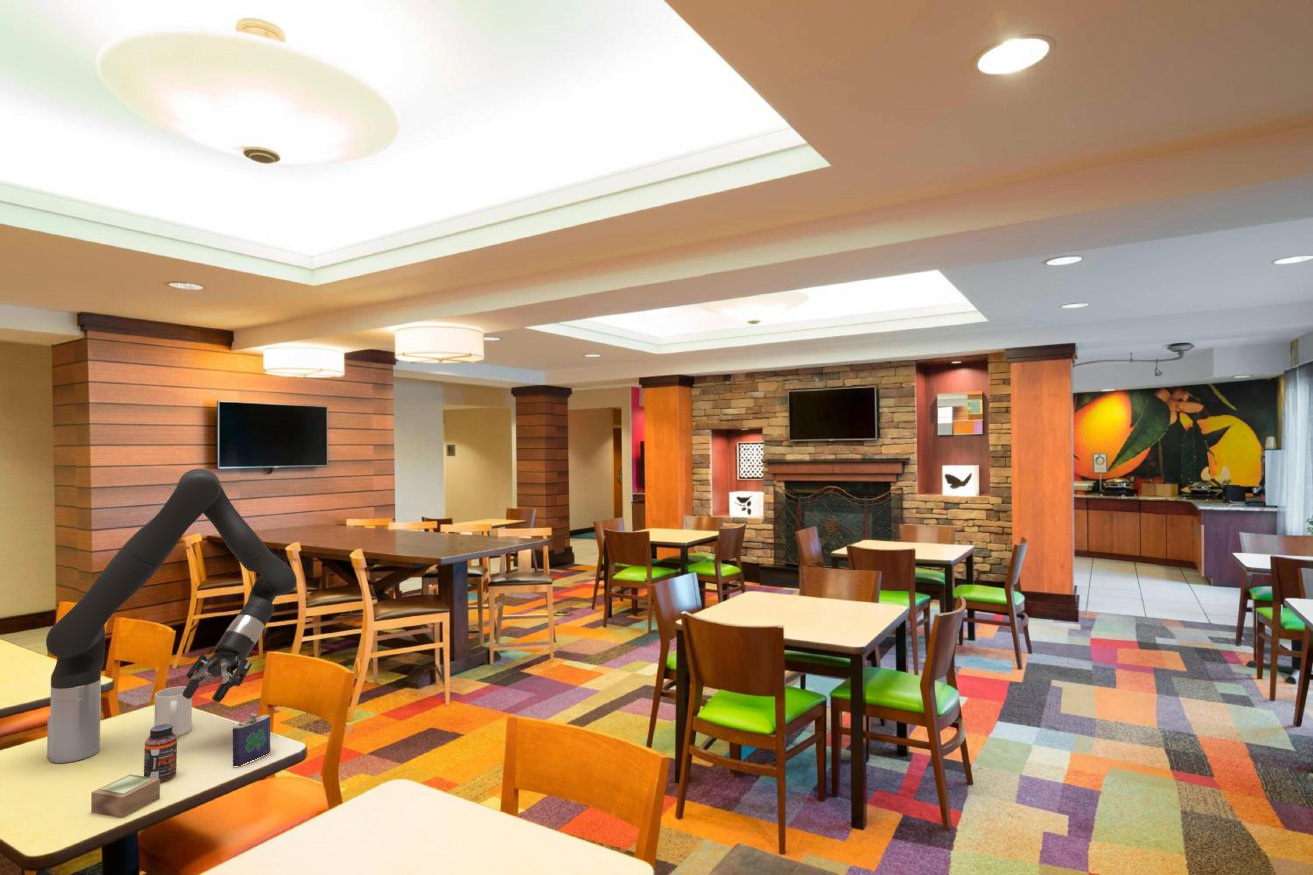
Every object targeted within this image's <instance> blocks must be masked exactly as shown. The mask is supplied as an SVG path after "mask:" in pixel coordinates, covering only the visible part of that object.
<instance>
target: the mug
mask: <svg viewBox="0 0 1313 875" xmlns="http://www.w3.org/2000/svg"><path fill="white" fill-rule="evenodd" d="M186 687H187V685H186V686H173V687H167V688H164V689H160V690H159V691H157V692H156V693H154V713H153V714H154V717H153V718H154V722H153V724H154V726H157V725H161V724H171V725H172V733H174V734H176V736H177V737H181V736H183V735H186V734H188V733H190V731H191V730H192V727H193V726H192V722H193V720H192V719H193V718H192V713H193V712H192V711H193V709H192V708H193V696H192V697H191V699H186V698H185V697H184V696H183V691H184V690H185V688H186ZM154 726H153V727H154ZM187 732H188V733H187Z"/></svg>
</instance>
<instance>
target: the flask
mask: <svg viewBox="0 0 1313 875" xmlns="http://www.w3.org/2000/svg"><path fill="white" fill-rule="evenodd" d="M257 716H258V717H257ZM231 729H232V767H233V766H241V765H243V764H245V763H247V762H250V761H252V760H255V759H257V758H259V757H261V756H263V755H265V756H267V755H266V754H268V753H269V752H270V753H271V715H270V714H262V715H261V716H259V714H256V713H254V712H252V713H250V717H249V718H248V719H247V720H245V721H244V722H243V723H241V722H239V723H238V724H236V725H234V726H233V727H232V728H231ZM270 753H269V754H270ZM269 754H268V755H269ZM257 760H258V759H257ZM241 767H242V766H241Z"/></svg>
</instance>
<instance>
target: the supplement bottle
mask: <svg viewBox="0 0 1313 875" xmlns="http://www.w3.org/2000/svg"><path fill="white" fill-rule="evenodd" d="M149 732H150V733H149V737H148V738H146V740H145V742H144V752H143V753H144V755H143V757H144V759H143V776H144V777H151V778H157V779H160V783H163V782H164V783H165V782H166V781H169V780H171V779H172V778H174V777H175V776H176V774H177V766H178V765H177V764H178V763H177V760H178V759H177V758H178V756H177V754H178V736H176V734H174V733H172V725H171V724H161V725H157V726H152V727H151V728H150V730H149Z"/></svg>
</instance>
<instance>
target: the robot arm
mask: <svg viewBox="0 0 1313 875" xmlns="http://www.w3.org/2000/svg"><path fill="white" fill-rule="evenodd" d="M202 515H204V516H205V517H206V518H207V520H208V521H209V522H211V524H212V526H214V528H215V529H216V530H217V532H218V534H219V536H220V537H221V538H222V540H223V541H224V544H225V545H226V547H227V548H228V549H229V550H230V551H231V553H232V555H234V557H235V558H236V559H237V561H239V563H240V564H241V565H242V566H243V567H244V569H245V570H247V571H248V572H251V573H257V574H258V575H259V576H258V577H257V579H256V580H255V582H254V584H253V585H252V588H251V590H250V592H249V595H248V598H247V601H246V603H245V604H244V606H243V607H242V609H241V610H240V611H239V613H238V614H237V616H236V617H235V618H234V619H233V620H232V622H231V623H230V624H229V626H228V627H227V628H226V630H225V631H224V634H223V635H222V636H221V638H220V639H219V641H218V642H217V644H216V646H214V648H215V649H214V653H213V655H211V656H207V655H205V654H203V653H202V654H201V655H199V657H198V659H197V660H196V661H195V662H194V664H193V665H192V666H191V668H190V669H189V670H188V672H187V673H186V674H185V676H186V677H187V679H189V682H188V684H187V685H186V686H187V687H186V688H185V690H184V691H183V696H184V697H185V698H186V699H191V697H192V698H193V696H194V694H195V693H196V691H197V690H198V688H199V687H200V684H202V683H203V682H205V681H206V680H210V679H212V678H213V677H215V678H216V677H220V678H222V683H220V684H219V686H218V687H217V689H216V691H215V692H214V694H212V697H211V699H212V700H213V702H215V703H221V701H222V700H223V699H225V697H226V695H227V693H228V692H229V690H230V689H232V688H233V687H240V686H241V685H242V683H243V681H244V679H245V678H246V676H247V674H248V673H249V670H250V669H251V667H252V662H251V661H249V659H247V658H248V656H249V655H250V653H251V652H252V650H253V648H254V646H255V645H256V644H257V642H258V640H259V639H260V637H261V635H262V634H263V631H264V629H265V628H266V626H267V625H268V622H269V621H270V620H271V618H272V616H273V614H274V612H275V606H274V604H273V602H274V600H275V599H276V597H278V596H282V595H283V596H284V595H287V594H289V593H291V592H293V591H294V590H295V588H296V587H297V576H296V574H295V573H296V572H295V571H294V570H293V569H292V567H290V566H289V565H288V563H286V562H285V561H283V560H282V559H281V558H279V557H278V556H277V555H276V554H274V553H272V552H271V551H270V549H269V548H268V547H267V545H266V544H265V542H263V540H262V538H260V537H259V536H258V534H257V533H256V532H255V531H254V530H253V529H252V527H250V526H251V525H249V524H248V523H247V522H246V520H245V519H244V518H243V517H242V515H240V513H239V512H238V511H237V510H236V508H235V506H234V505H233V503H231V501H230V499H229V498H228V496H227V493H226V492H225V491H224V489H223V487H222V485H221V482H220V480H219V478H218V476H217V475H216V474H215V473H214V472H212V471H210V470H208V469H205V468H194V469H190V470H188V471H186V472H185V473H184V474H183V475H182V476H181V477H180V478H179V479H178V482H177V485H176V487H175V488H174V490H173V492H172V494H171V495H170V497H168V500H167V501H166V502H165V504H164V505H163V506H162V508H161V509H160V510H159V512H158V513H157V514H156V515H155V516H154V517H153V518H152V519H150V521H148V522H147V523H146V524H145V525H144V526H142V527H141V528H140V529H139V530H138V531H137V532H135V533H134V534H133V535H132V536H131V537H130V538H129V539H128V540H127V541H126V542H125V543H124V544H123V545H122V547H120V549H119V550H118V551H117V553H115V555H114V556H112V559H111V560H110V561H109V562H108V564H107V565H106V566H105V568H104V569H103V570H102V571H101V573H100V574H99V576H98V577H96V579H95V580H94V582H93V583H92V585H91V586H90V588H89V589H88V590H87V592H86V593H85V594H84V595H83V597H81V599H80V600H78V602H76V604H74V606H73V607H72V608H71V609H70V610H69V611H68V612H67V613H66V614H64V615H63V616H62V617H61V618H60V619H59V620H58V621H57V622H55V624H53V625H52V626H51V628H50V629H49V631H48V632H47V635H46V639H45V645H46V649H47V651H48V653H50V655H52V656H53V657H55V658H56V664H55V666H54V669H53V671H52V673H51V676H50V711H49V712H50V715H49V716H48V718H47V734H46V735H47V740H46V742H47V743H46V744H47V745H46V758H48V759H49V762H51V763H53V764H54V763H56V764H65V763H72V762H77V761H81V760H84V759H87V758H90V757H93V756H94V755H96V754H97V753H99V752H100V749H101V706H102V705H101V696H102V695H101V692H102V691H101V689H102V688H101V687H102V680H101V679H102V669H103V667H104V662H105V651H106V650H105V648H106V627H105V625H106V624H107V622H108V621H109V620H110V618H111V617H112V616H113V615H114V613H115V612H116V611H117V610H118V609H119V608H120V607H121V606H122V605H124V603H126V602H127V601H128V600H129V599H130V598H132V596H134V595H135V594H136V593H137V592H138V591H140V589H141V588H142V587H143V586H144V585H145V584H146V583H147V582H148V581H149V580H150V579H151V578H152V577H153V575H154V574H155V573H156V572H157V571H158V570H159V569H160V568H161V566H162V565H163V563H164V562H166V560H167V559H168V557H169V555H171V553H172V552H173V550H174V549H175V548H176V547H177V544H178V543H179V541H180V540H181V538H183V535H184V534H185V533H186V532H187V530H188V529H189V528H190V527H191V526H192V525H193V524H194V523H195V522H196V520H198V519H199V517H201V516H202Z"/></svg>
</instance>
